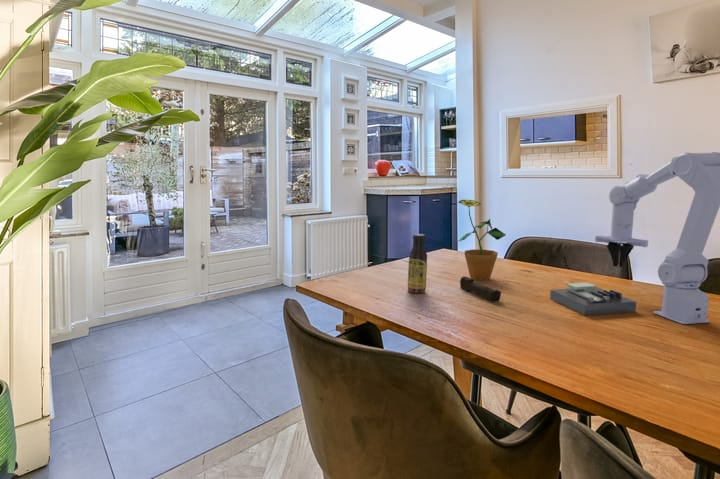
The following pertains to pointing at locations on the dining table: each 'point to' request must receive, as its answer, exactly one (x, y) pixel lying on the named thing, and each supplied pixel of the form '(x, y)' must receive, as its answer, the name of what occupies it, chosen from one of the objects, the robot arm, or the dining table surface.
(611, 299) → the heatsink block
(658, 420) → the dining table surface
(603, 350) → the dining table surface
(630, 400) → the dining table surface
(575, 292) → the grey flat bar
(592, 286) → the catch
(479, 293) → the hand tool
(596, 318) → the dining table surface
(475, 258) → the potted plant
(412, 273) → the sauce bottle
